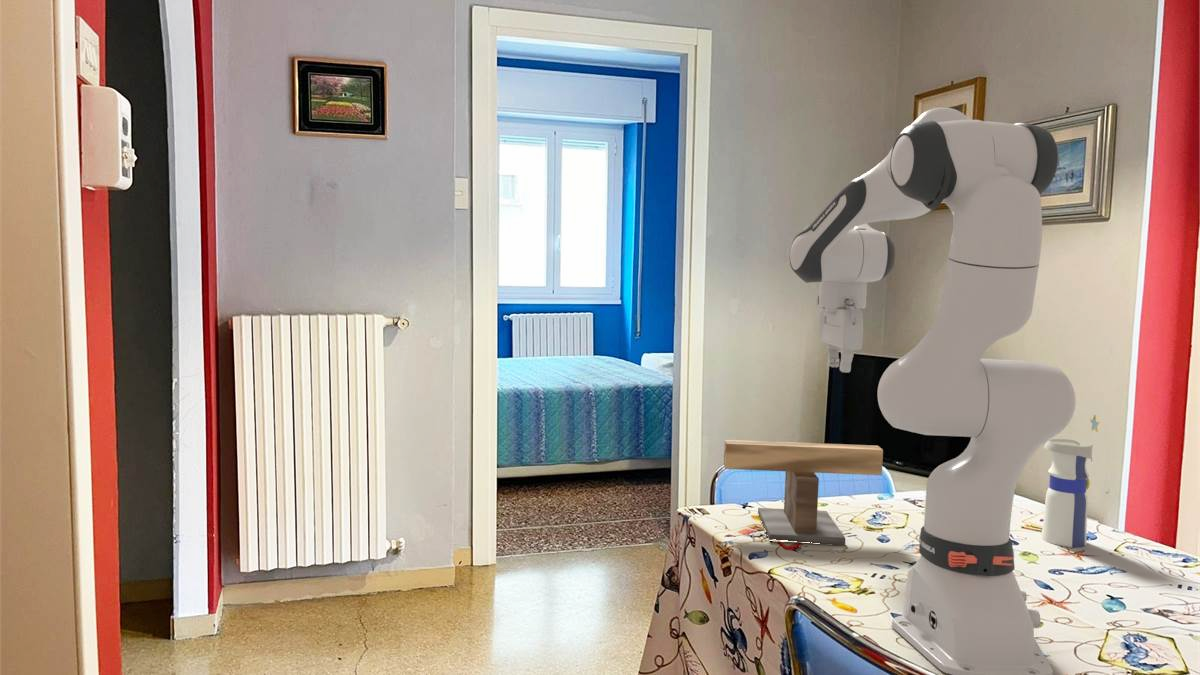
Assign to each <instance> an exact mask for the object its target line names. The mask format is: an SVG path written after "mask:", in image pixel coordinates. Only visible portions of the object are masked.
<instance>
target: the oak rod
mask: <svg viewBox="0 0 1200 675" xmlns="http://www.w3.org/2000/svg"><path fill="white" fill-rule="evenodd" d="M723 446H724V448H723V451H724V452H723V466H724V468H725V470H741V471H742V470H743V471H763V472H764V471H765V472H766V471H769V472H786V471H788V472H812V473H815V474H817V473H818V474H837V475H838V474H839V475H860V476H861V475H862V476H864V475H865V476H866V475H867V476H883V459H884V458H883V457H884V450H883V448H881V446H879V445H871V444H870V445H867V444H845V443H844V444H843V443H814V442H792V441H771V440H770V441H767V440H764V441H763V440H740V439H724V445H723Z"/></svg>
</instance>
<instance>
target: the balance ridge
mask: <svg viewBox="0 0 1200 675" xmlns="http://www.w3.org/2000/svg"><path fill="white" fill-rule="evenodd" d="M816 474H817V473H812V472H788V471H785V478H784V480H785V481H784V502H783V503H784V504H783V508H767V507H765V508H764V507H758V509H757V511H758V512H757V515H758V514H759V516H758V518H759V517H760V519H761V521H762V523H761V525H762V524H763V526H764V528H765V530H766V532H767V535H768V537H769V539H776V540H788V541H797V542H810V543H811V542H812V543H820V544H832V545H831V546H841V545H845V546H846V537H845V535H844V534H843V532H842V531H841V529H840V528H839V526H838V525H837V524H836V523H835V521H834V519H833V518H832V516H830V514H829V513H828V512H827V510H818V507H819V506H818V505H819V504H818V502H819V484H820V483H819V477H818V476H817V475H816ZM760 519H759V520H760ZM761 521H760V522H761ZM763 526H762V527H763ZM764 528H763V529H764ZM767 535H766V536H767ZM820 544H819V545H820Z"/></svg>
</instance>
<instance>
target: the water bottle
mask: <svg viewBox="0 0 1200 675" xmlns="http://www.w3.org/2000/svg"><path fill="white" fill-rule="evenodd" d="M1089 422H1090V423H1091V431H1095V432H1096V433H1098V425H1099V424H1100V421H1098V420H1097V417H1096V414H1094V415H1093V418H1092V419H1090V421H1089ZM1044 444H1045V445H1044V446H1043V448H1044V449H1045V450H1047V451H1050V452H1051V458H1052V462H1051V466H1050V467H1049V469H1048V470H1047V472H1048V474H1049V486H1048V488H1047V490H1046V494H1045V502H1044V513H1043V514H1044V515H1043V522H1042V523H1043V524H1042V528H1041V529H1042V531H1041V539H1042V541H1044V542H1046V543H1049V544H1053V545H1057V546H1061V547H1062V546H1063V547H1068V548H1069V547H1070V548H1082V547H1083V548H1084V547H1085V546H1087V527H1088V526H1087V522H1088V508H1089V507H1088V505H1089V502H1088V501H1089V500H1088V494H1087V491H1088V490H1089V487H1090V484H1091V483H1090V479H1089V477H1090V474H1089V472H1088V471H1087V461H1088V459H1089V460H1091V462H1093V447H1094V446H1093V444H1091V445H1090V446H1089V445H1088V446H1081V442H1079V441H1077V440H1074V439H1069V438H1051V439H1049V440H1048V441H1046V442H1045V443H1044Z"/></svg>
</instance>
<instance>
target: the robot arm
mask: <svg viewBox="0 0 1200 675" xmlns="http://www.w3.org/2000/svg"><path fill="white" fill-rule="evenodd" d="M1058 166H1059V149H1058V145H1057V142H1056V140H1055V138H1054V136H1053V135H1052V134H1051V132H1050V131H1049V130H1048V129H1045V128H1044V127H1041V126H1038V125H1034V124H1031V123H1024V122H1017V123H1008V122H999V121H987V120H984V121H983V120H982V119H981V120H980V119H970V118H969V117H968V116H967V115H966V114H964V113H963V112H962V111H959V110H958V109H955V108H951V107H943V106H942V107H940V106H939V107H934V108H931V109H928V110H926V111H924V112H923V113H922V114H920V115H919V116H918V117H917V118H916V119H915V120H914V121H913V122H912V123H911V124H910V125H908V126H906V127H904V129H903V130H902V131H901V132H900V133H899V135H898V136H897V137H896V139H895V141H894V143H893V146H892V147H891V149H890V151H889V152H888V153H887V155H886V156H885V157H884V159H882V160H881V161H880V162H879V163H877V165H875V166H874V167H873V168H871V169H870V170H869V171H867V172H865V173H863V174H862V175H860V176H858V177H856V178H854V179H853V180H851V181H849V182H848V183H846V184H845V185H844V186H843V187H841V189H840V190H839V191H838V192H837V193H836V195H835V196H834V197H833V198H832V199H831V200H830V202H829V203H828V204H827V205H826V206H825V207H824V209H822V211H820V213H819V214H818V215H817V216H816V217H815V218H814V220H813V221H812V222H811V223H810V224H809V225H806V226H805V227H804V228H803V229H802V230H800V232H798V233H797V234H796V236H795V237H794V238H793V240H792V242H791V246H790V250H789V266H790V268H791V270H792V271H793V273H795V275H797V277H798V278H800V279H801V280H802V281H803V282H805V283H807V284H808V283H819V294H818V296H817V299H816V300H817V301H816V305H817V306H818V307H820V308H819V334H820V335H819V336H820V340H821V342H822V343H825V344H827V346H826V347H827V355H828V366H829V367H831V368H839V371H840V372H841V373H850V372H851V370H852V362H853V358H854V355H855V351H860V350H862V347H863V342H864V317H863V311H862V310H861V309H866V307H867V290H868V289H867V287H868V283H874V282H879V281H882V280H883V279H885V278H886V277H887V276H888V275H889V274H890V273H891V272H892V271H893V269H894V266H895V259H896V258H895V255H896V254H895V251H896V249H895V244H894V242H893V241H892V239H891V238H890V237H889V235H887V234H886V233H885V232H883V231H880V230H877V229H874V228H873V227H871V226H870V225H869V224H870V223H877V222H886V221H898V220H900V221H901V220H908V219H909V220H910V219H915V218H918V217H921V216H923V215H925V214H927V213H929V212H930V211H934V210H935V209H937V208H938V207H939V206H940V205H941V204H942V203H944V204H945V205H946V206H947V207H948V209H949V210H950V212H951V215H952V218H953V219H952V220H953V224H952V232H951V238H950V242H949V243H950V244H949V249H948V257H947V265H946V272H945V278H944V286H943V288H942V289H943V290H942V294H941V300H940V305H939V307H938V311H937V314H936V317H935V318H934V321H933V323H932V325H931V326H930V328H929V329H928V330H927V333H926V334H925V335H924V337H923V338H922V339H921V340H920V341H919V342H918V343H917V345H916V346H914V347H913V348H912V349H911V350H910V351H909V352H907V353H906V354H905V355H903V356H901V357H899V358H898V359H896V360H895V361H893V362H892V363H891V364H889V366H888V367H887V368H886V369H885V371H884V372H883V373H882V375H881V377H880V379H879V382H878V386H877V396H876V397H877V402H878V407H879V409H880V411H881V414H882V416H883V418H884V419H885V420H886V421H887V422H888V424H890V426H892V428H895V429H899V430H903V431H907V432H911V433H916V434H920V435H924V436H941V437H943V436H944V437H945V436H946V437H965V438H967V437H968V438H970V441H969V443H968V444H967V447H966V448H965V449H964V450H963V452H961V453H960V454H959V455H958V456H956V457H955V458H952V459H950V460H947V461H946V462H943V463H941V464H939V465H938V466H937V467H936V468H934V470H932V472H931V473H930V474H929V476H928V478H927V480H926V487H925V488H926V489H925V500H924V501H925V505H924V520H923V521H924V522H923V524H924V525H923V526H922V527H921V528H920V533H919V534H920V535H919V537H918V538H919V539H918V544H919V549H918V552H919V554H920V556H919V558H918V560H917V561H916V562H915V563H914V564H913V565H912V566H911V567H910V568H909V569H908V571H907V575H906V576H907V577H906V582H905V592H904V600H903V608H902V609H903V610H902V615H898V616H896V617H893V618H892V621H891V622H892V623H891V627H892V629H894V630H895V631H896V632H897V633H898V634H899V635H900V636H902V637H903V638H904V639H905V640H906V641H907V642H909V644H911V645H912V646H913V647H914V648H915V649H916V650H917V651H918V652H920V653H921V655H923V656H924V657H925V658H926V659H927V660H928V661H929V662H931V664H933V665H934V666H935V667H936V668H938V670H939V671H941V672H943V673H946V674H948V675H1054V671H1053V668H1052V667H1051V665H1050V663H1049V660H1047V658H1046V656H1045V654H1044V653H1043V650H1042V649H1041V647H1040V645H1039V644H1038V642H1037V640H1036V638H1035V631H1034V630H1035V629H1039V628H1040V626H1041V614H1040V612H1039V610H1037V609H1030V608H1028V606H1027V603H1026V602H1027V598H1028V597H1027V596H1028V594H1027V592H1026V591H1023V590H1021V588H1020V586H1019V583H1018V581H1017V578H1016V575H1015V574H1014V570H1015V559H1014V558H1015V550H1014V546H1013V541H1012V539H1011V537H1010V532H1011V519H1012V512H1013V505H1014V496H1015V493H1016V492H1015V490H1016V487H1017V484H1018V480H1019V479H1020V475H1021V474H1022V472H1023V470H1024V468H1025V467H1026V465H1027V464H1028V462H1029V460H1030V459H1031V457H1032V456H1033V455H1034V454H1036V452H1037V451H1038V450H1039V449H1040V447H1042V446H1043V445H1044V444H1046V443H1047V441H1048V440H1049V439H1053V438H1054V437H1055V436H1057V435H1059V434H1060V433H1062V431H1064V430H1065V429H1066V428H1067V426H1068V425H1069V424H1070V422H1071V421H1072V419H1073V416H1074V413H1075V410H1076V404H1077V403H1076V393H1075V390H1074V386H1073V384H1072V382H1071V380H1070V379H1069V378H1068V376H1067V375H1066V374H1065V373H1064V372H1063V370H1061V369H1060V368H1059V367H1057V366H1052V365H1047V364H1046V363H1040V362H1036V361H1030V360H1026V359H1025V360H1024V359H1006V358H1005V359H1002V358H1001V359H999V358H983V356H984V354H985V353H986V352H987V350H989V348H990V347H991V346H992V345H994V344H996V342H998V341H1000V340H1002V339H1004V338H1006V337H1009V336H1012V335H1013V334H1015V333H1017V332H1018V331H1020V330H1021V329H1022V328H1023V327H1024V326H1025V325H1026V324H1027V323H1028V321H1029V320H1030V318H1031V316H1032V314H1033V305H1034V300H1035V293H1036V286H1037V280H1038V279H1037V278H1038V273H1039V266H1040V259H1041V251H1042V240H1043V239H1042V238H1043V215H1042V214H1043V213H1042V212H1043V210H1042V209H1043V208H1042V199H1041V198H1042V197H1041V194H1043V193H1044V192H1045V191H1046V190H1047V189H1048V188H1049V186H1050V185H1051V183H1053V182H1052V181H1053V180H1054V178H1055V176H1056V174H1057V171H1058ZM839 350H840V353H839ZM839 354H840V355H841V356H839ZM839 357H840V358H839Z"/></svg>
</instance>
